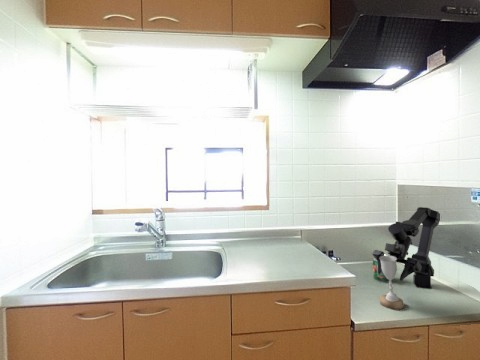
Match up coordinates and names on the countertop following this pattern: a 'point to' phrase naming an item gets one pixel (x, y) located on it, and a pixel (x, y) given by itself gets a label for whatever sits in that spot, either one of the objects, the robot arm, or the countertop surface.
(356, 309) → the countertop surface
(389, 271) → the chalice
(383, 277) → the canned tomato
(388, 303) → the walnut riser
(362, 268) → the countertop surface
